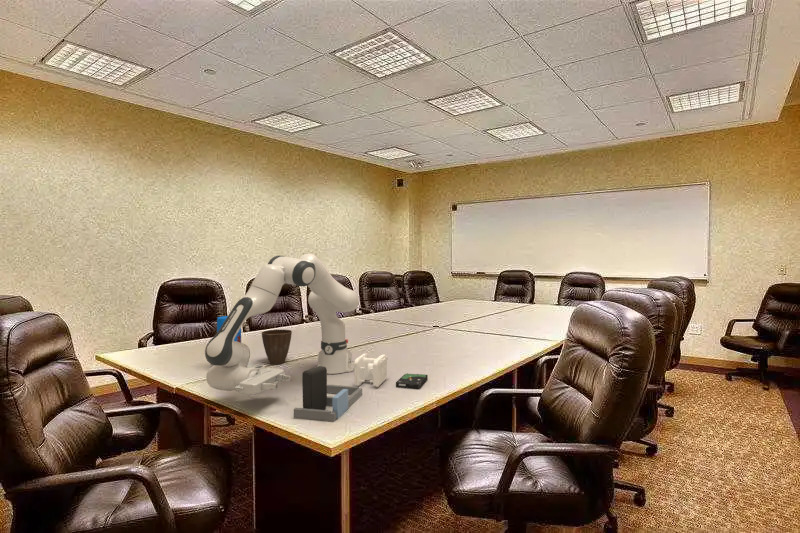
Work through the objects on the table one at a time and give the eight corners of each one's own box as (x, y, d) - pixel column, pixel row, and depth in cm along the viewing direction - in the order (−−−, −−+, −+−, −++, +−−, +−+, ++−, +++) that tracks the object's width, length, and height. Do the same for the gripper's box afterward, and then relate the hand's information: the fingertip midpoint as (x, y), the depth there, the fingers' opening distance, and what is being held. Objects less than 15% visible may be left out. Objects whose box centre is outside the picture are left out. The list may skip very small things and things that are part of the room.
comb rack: (327, 391, 173) (327, 374, 172) (362, 394, 169) (362, 376, 169) (293, 417, 145) (293, 397, 145) (334, 421, 141) (334, 400, 141)
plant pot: (259, 361, 224) (259, 330, 223) (288, 358, 231) (287, 328, 230) (265, 368, 210) (264, 335, 210) (295, 364, 217) (295, 332, 217)
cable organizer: (365, 377, 193) (365, 352, 192) (388, 379, 190) (388, 353, 190) (353, 387, 178) (353, 359, 178) (378, 389, 176) (378, 361, 175)
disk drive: (419, 391, 175) (427, 380, 189) (419, 384, 175) (427, 374, 189) (395, 389, 178) (405, 378, 192) (395, 382, 178) (405, 372, 192)
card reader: (319, 406, 156) (319, 365, 156) (328, 408, 154) (327, 366, 154) (301, 413, 149) (301, 370, 148) (310, 416, 146) (309, 372, 146)
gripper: (230, 379, 147) (267, 381, 144) (263, 364, 167) (296, 366, 164) (231, 397, 147) (267, 400, 144) (263, 380, 167) (296, 383, 164)
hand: (283, 382), depth 154 cm, fingers open, 8 cm apart
